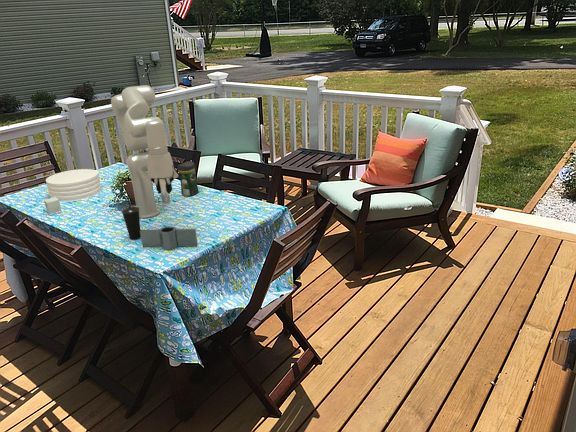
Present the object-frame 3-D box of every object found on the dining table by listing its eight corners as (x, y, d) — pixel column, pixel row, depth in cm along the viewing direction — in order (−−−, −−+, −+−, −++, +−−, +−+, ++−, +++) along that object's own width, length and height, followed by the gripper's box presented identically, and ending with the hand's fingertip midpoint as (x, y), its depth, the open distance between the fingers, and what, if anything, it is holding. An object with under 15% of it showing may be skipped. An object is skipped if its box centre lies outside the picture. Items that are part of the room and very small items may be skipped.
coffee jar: (189, 190, 274) (185, 159, 267) (200, 192, 271) (196, 160, 264) (179, 196, 266) (174, 164, 259) (190, 197, 263) (186, 165, 256)
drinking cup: (128, 234, 219) (121, 194, 211) (145, 233, 219) (138, 192, 211) (124, 241, 212) (116, 199, 204) (142, 240, 212) (134, 198, 204)
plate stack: (90, 202, 263) (86, 182, 259) (41, 204, 264) (36, 184, 260) (109, 186, 289) (105, 168, 285) (64, 187, 290) (59, 169, 286)
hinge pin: (158, 204, 201) (153, 170, 196) (162, 200, 206) (156, 167, 201) (170, 204, 201) (165, 170, 196) (174, 200, 206) (169, 167, 200)
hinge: (140, 250, 202) (137, 233, 199) (145, 243, 209) (142, 227, 206) (195, 249, 201) (193, 232, 198) (199, 242, 207) (197, 225, 204)
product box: (62, 212, 250) (58, 199, 247) (49, 215, 246) (46, 202, 244) (59, 209, 254) (55, 196, 252) (46, 212, 251) (43, 199, 248)
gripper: (135, 153, 192) (143, 196, 199) (175, 151, 191) (181, 194, 198) (141, 149, 199) (148, 190, 206) (180, 147, 198) (186, 189, 205)
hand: (164, 192), depth 202 cm, fingers closed on hinge pin, 3 cm apart
